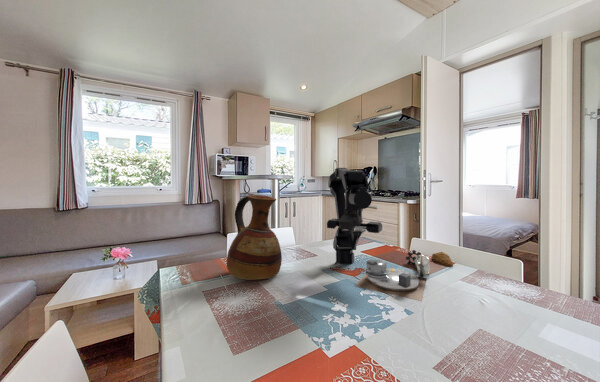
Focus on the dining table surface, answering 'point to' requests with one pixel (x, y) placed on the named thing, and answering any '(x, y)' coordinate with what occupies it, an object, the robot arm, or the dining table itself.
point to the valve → (426, 269)
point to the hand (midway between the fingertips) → (353, 249)
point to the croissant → (442, 259)
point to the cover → (376, 269)
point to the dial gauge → (421, 266)
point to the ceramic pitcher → (254, 242)
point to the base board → (413, 294)
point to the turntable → (396, 280)
